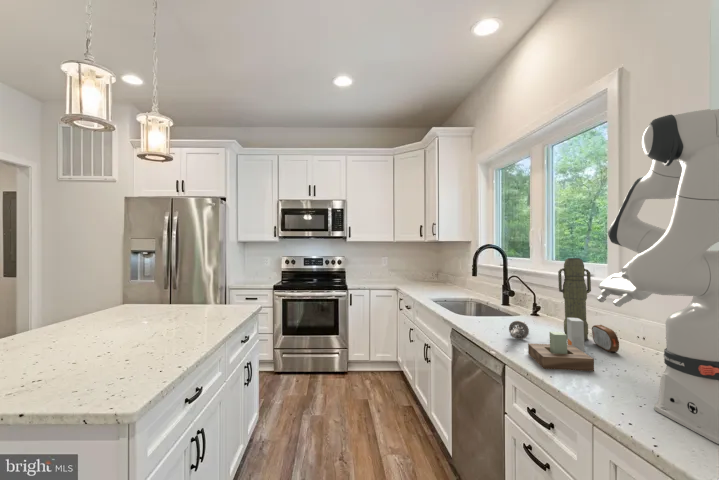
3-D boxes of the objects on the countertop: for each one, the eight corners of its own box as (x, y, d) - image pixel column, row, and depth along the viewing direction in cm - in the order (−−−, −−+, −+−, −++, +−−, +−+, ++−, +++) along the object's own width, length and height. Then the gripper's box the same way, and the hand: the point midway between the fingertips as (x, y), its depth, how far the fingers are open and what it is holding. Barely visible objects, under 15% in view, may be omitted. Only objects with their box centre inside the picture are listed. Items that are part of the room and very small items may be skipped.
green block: (567, 361, 110) (566, 335, 111) (554, 360, 111) (554, 334, 111) (562, 357, 114) (561, 332, 115) (550, 357, 115) (549, 331, 115)
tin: (620, 354, 120) (619, 332, 120) (610, 354, 120) (610, 331, 120) (599, 343, 134) (598, 322, 134) (590, 342, 135) (589, 322, 135)
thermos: (596, 341, 136) (593, 258, 137) (564, 340, 139) (562, 258, 140) (587, 336, 145) (584, 257, 145) (557, 334, 147) (555, 258, 148)
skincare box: (567, 347, 129) (566, 317, 129) (579, 348, 128) (578, 317, 128) (572, 352, 123) (571, 320, 123) (585, 353, 122) (584, 321, 122)
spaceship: (497, 327, 130) (517, 322, 127) (512, 320, 159) (529, 315, 155) (506, 347, 128) (526, 342, 124) (519, 336, 157) (536, 332, 153)
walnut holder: (594, 371, 104) (593, 358, 104) (543, 368, 107) (543, 356, 107) (572, 355, 119) (571, 345, 119) (528, 354, 121) (528, 343, 122)
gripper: (611, 266, 119) (583, 292, 120) (652, 268, 99) (618, 300, 100) (625, 278, 118) (597, 304, 119) (670, 283, 98) (635, 315, 99)
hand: (607, 302), depth 109 cm, fingers open, 8 cm apart
